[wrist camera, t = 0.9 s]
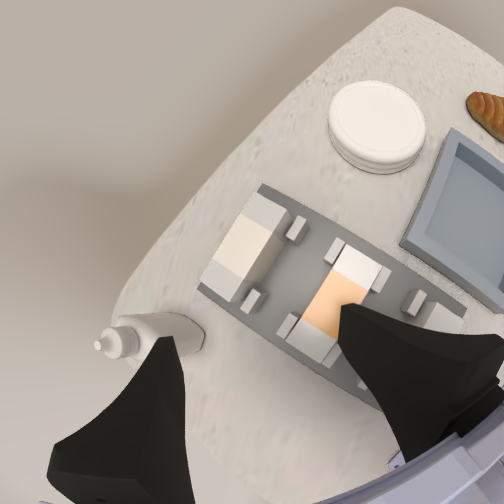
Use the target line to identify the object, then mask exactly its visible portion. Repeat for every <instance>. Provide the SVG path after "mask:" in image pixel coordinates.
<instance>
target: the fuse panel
mask: <svg viewBox="0 0 504 504" xmlns="http://www.w3.org/2000/svg"><path fill="white" fill-rule="evenodd" d="M254 192H255V191H254ZM256 193H258V194H259V195H261V196H263V197H265V198H267V199H269V200H271V201H272V202H274V203H276V204H278V205H280V206H282V207H283V208H285V209H287V210H288V212H289V214H290V216H291V217H292V219H293V221H294V223H293V224H292V226H291V228H290V229H289V231H288V233H287V234H286V237H287V238H288V240H287V241H286V243H285V245H284V246H283V248H282V249H281V251H280V253H279V254H278V256H277V257H276V259H275V261H274V262H273V264H272V265H271V267H270V269H269V270H268V272H267V273H266V275H265V277H264V278H263V280H262V281H261V283H260V285H259V286H258V288H257V289H254V288H253V289H252V290H251V292H250V293H249V295H248V297H247V298H246V300H245V301H243V302H228V301H227V300H225V299H224V298H223V297H221V296H220V295H219V294H217V293H216V292H214V291H213V290H212V289H210V288H209V287H208V286H206V285H205V284H204V283H202V282H201V283H200V285H199V286H198V288H197V290H199V291H200V292H201V293H203V294H204V295H205V296H207V297H208V298H209V299H211V300H212V301H213V302H215V303H216V304H217V305H219V306H220V307H221V308H223V309H224V310H226V311H227V312H228V313H230V314H231V315H232V316H234V317H235V318H237V319H238V320H239V321H241V322H242V323H244V324H245V325H246V326H248V327H249V328H251V329H252V330H253V331H255V332H256V333H258V334H259V335H261V336H262V337H263V338H265V339H266V340H268V341H269V342H271V343H272V344H274V345H275V346H277V347H278V348H280V349H281V350H283V351H284V352H286V353H287V354H289V355H290V356H292V357H293V358H295V359H296V360H298V361H299V362H301V363H302V364H304V365H305V366H307V367H308V368H310V369H311V370H313V371H315V372H316V373H318V374H319V375H321V376H322V377H324V378H326V379H327V380H329V381H330V382H332V383H334V384H335V385H337V386H339V387H340V388H342V389H344V390H345V391H347V392H348V393H350V394H352V395H353V396H355V397H357V398H359V399H360V400H362V401H364V402H365V403H367V404H369V405H371V406H372V407H374V408H376V409H378V410H379V411H381V412H383V411H382V409H381V407H380V406H379V404H378V402H377V400H376V399H375V397H374V396H373V394H372V393H371V391H370V390H369V389H368V387H367V386H366V385H365V383H364V382H363V381H362V380H361V378H360V377H359V376H358V374H357V373H356V372H355V370H354V369H353V368H352V366H351V365H350V364H349V362H348V361H347V359H346V358H345V356H344V354H343V352H342V350H341V348H340V347H339V345H338V343H337V341H338V339H337V341H336V342H335V344H334V345H333V347H332V348H331V350H330V351H329V352H328V354H327V355H326V357H325V358H324V359H323V361H322V362H321V364H320V363H318V362H316V361H315V360H313V359H312V358H310V357H309V356H307V355H306V354H304V353H303V352H301V351H299V350H298V349H296V348H295V347H293V346H292V345H290V344H289V343H287V342H286V339H287V338H288V336H289V335H290V333H291V332H292V330H293V329H294V328H295V326H296V325H297V323H298V322H299V320H300V319H301V317H302V315H303V314H304V312H305V311H306V309H307V308H308V306H309V305H310V303H311V302H312V300H313V299H314V297H315V295H316V294H317V292H318V291H319V289H320V287H321V286H322V284H323V283H324V281H325V279H326V278H327V276H328V275H329V273H330V271H331V270H332V268H333V266H334V265H335V263H336V261H337V260H338V258H339V256H340V255H341V253H342V251H343V249H344V248H345V246H346V244H348V245H349V246H351V247H353V248H354V249H356V250H357V251H359V252H361V253H362V254H364V255H366V256H367V257H369V258H370V259H372V260H374V261H375V262H377V263H378V264H380V265H382V268H381V270H380V272H379V273H378V275H377V277H376V279H375V280H374V282H373V284H372V286H371V287H370V289H369V291H368V292H367V294H366V296H365V297H364V299H363V301H362V302H361V304H360V305H361V306H364V307H367V308H369V309H372V310H374V311H376V312H379V313H381V314H384V315H386V316H389V317H391V318H394V319H397V320H399V321H402V322H405V323H406V322H407V320H408V318H409V317H410V315H411V316H415V315H416V314H417V312H418V310H419V308H420V306H421V305H422V303H423V301H425V302H438V303H439V304H441V305H442V306H444V307H445V308H447V309H448V310H449V311H451V312H452V313H454V314H455V315H457V316H458V317H459V318H461V319H462V318H463V316H464V314H465V312H466V310H467V308H466V307H465V306H463V305H462V304H461V303H459V302H458V301H456V300H455V299H454V298H452V297H451V296H449V295H448V294H447V293H445V292H444V291H442V290H441V289H439V288H438V287H437V286H435V285H434V284H432V283H431V282H429V281H428V280H426V279H425V278H423V277H422V276H420V275H419V274H417V273H416V272H414V271H413V270H411V269H410V268H408V267H407V266H405V265H404V264H402V263H400V262H399V261H397V260H396V259H394V258H393V257H391V256H389V255H388V254H386V253H385V252H383V251H382V250H380V249H378V248H377V247H375V246H373V245H372V244H370V243H369V242H367V241H365V240H364V239H362V238H360V237H359V236H357V235H355V234H354V233H352V232H350V231H348V230H347V229H345V228H343V227H342V226H340V225H338V224H336V223H335V222H333V221H331V220H330V219H328V218H326V217H324V216H322V215H321V214H319V213H317V212H315V211H314V210H312V209H310V208H308V207H306V206H305V205H303V204H301V203H299V202H297V201H295V200H293V199H292V198H290V197H288V196H286V195H284V194H282V193H280V192H278V191H277V190H275V189H273V188H271V187H269V186H267V185H265V184H263V183H262V185H261V186H260V188H259V189H258V191H257V192H256ZM462 320H463V319H462Z"/></svg>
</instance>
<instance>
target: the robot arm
mask: <svg viewBox="0 0 504 504" xmlns="http://www.w3.org/2000/svg"><path fill="white" fill-rule="evenodd" d="M337 343H338V345H339V347H340V348H341V350H342V352H343V354H344V356H345V358H346V359H347V361H348V362H349V364H350V365H351V366H352V368H353V369H354V370H355V372H356V373H357V374H358V376H359V377H360V378H361V380H362V381H363V382H364V383H365V385H366V386H367V387H368V389H369V390H370V391H371V393H372V394H373V396H374V397H375V399H376V400H377V402H378V404H379V406H380V407H381V409H382V411H383V413H384V415H385V416H386V418H387V420H388V422H389V424H390V426H391V428H392V431H393V433H394V435H395V437H396V440H397V442H398V444H399V447H400V449H401V451H400V452H399V453H398V454H397V455H396V456H395V457H394V458H393V459H392V460H391V461H390V462H389V463H388V466H389V468H390V469H392V470H393V471H391V472H389V473H387V474H385V475H383V476H381V477H379V478H377V479H375V480H373V481H371V482H369V483H366V484H364V485H362V486H360V487H357V488H355V489H352V490H350V491H347V492H345V493H342V494H340V495H337V496H334V497H332V498H329V499H326V500H323V501H320V502H317V503H314V504H504V385H503V387H502V388H501V387H499V386H498V384H499V382H500V380H499V379H498V378H497V377H496V375H497V373H498V371H499V369H500V367H501V365H502V363H503V361H504V339H503V338H501V337H500V336H499V335H497V334H484V335H464V334H452V333H445V332H439V331H434V330H429V329H425V328H421V327H418V326H414V325H411V324H408V323H405V322H402V321H399V320H397V319H394V318H391V317H389V316H386V315H384V314H381V313H379V312H376V311H374V310H372V309H369V308H367V307H364V306H361V305H359V304H356V303H349V304H345V305H341V311H340V322H339V332H338V341H337ZM396 465H398V466H397V467H394V466H396ZM47 479H48V481H49V482H50V484H51V485H52V486H53V487H55V489H57V490H58V491H59V492H60V493H62V494H63V495H64V496H66V497H67V498H68V499H69V500H71V501H72V502H74V503H75V504H195V499H194V495H193V491H192V485H191V480H190V474H189V467H188V461H187V454H186V446H185V384H184V374H183V370H182V367H181V363H180V360H179V356H178V353H177V349H176V345H175V342H174V338H173V336H166V337H158V339H157V340H156V342H155V343H154V345H153V347H152V348H151V350H150V352H149V354H148V355H147V357H146V359H145V360H144V362H143V363H142V365H141V366H140V368H139V369H138V371H137V372H136V374H135V375H134V377H133V378H132V379H131V381H130V382H129V384H128V385H127V386H126V388H125V389H124V390H123V391H122V392H121V394H120V395H119V396H118V397H117V398H116V399H115V400H114V401H113V402H112V403H111V404H110V405H109V406H108V407H107V408H106V409H105V410H103V411H102V412H101V413H100V414H99V415H98V416H97V417H96V418H95V419H93V420H92V421H91V422H89V423H88V424H87V425H85V426H84V427H82V428H81V429H80V430H78V431H77V432H75V433H73V434H72V435H70V436H68V437H66V438H65V439H63V440H61V441H60V442H58V443H56V444H55V445H54V447H53V451H52V454H51V458H50V462H49V466H48V471H47ZM39 504H51V503H48V502H44V501H39Z"/></svg>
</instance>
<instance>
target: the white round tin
mask: <svg viewBox="0 0 504 504" xmlns="http://www.w3.org/2000/svg"><path fill="white" fill-rule="evenodd" d="M328 126H329V134H330V138H331V141H332V143H333V145H334V147H335V148H336V150H337V151H338V152H339V153H340V155H341V156H342V157H343V158H344V159H345V160H347V161H348V162H349V163H350V164H352V165H354V166H355V167H357V168H359V169H361V170H364V171H367V172H371V173H376V174H389V173H394V172H398V171H400V170H402V169H404V168H406V167H407V166H409V165H410V164H411V163H412V162H413V161H414V160H415V159H416V157H417V156H418V154H419V152H420V150H421V148H422V146H423V144H424V142H425V138H426V121H425V117H424V115H423V112H422V110H421V109H420V107H419V106H418V104H417V103H416V102H415V101H414V99H413V98H411V97H410V96H409V95H408V94H407V93H405V92H404V91H403V90H401V89H399V88H397V87H396V86H393V85H391V84H388V83H385V82H381V81H374V80H364V81H357V82H353V83H351V84H348V85H346V86H344V87H343V88H341V89H340V90H339V91H338V92H337V93H336V94H335V95H334V97H333V98H332V100H331V102H330V105H329V108H328Z"/></svg>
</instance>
